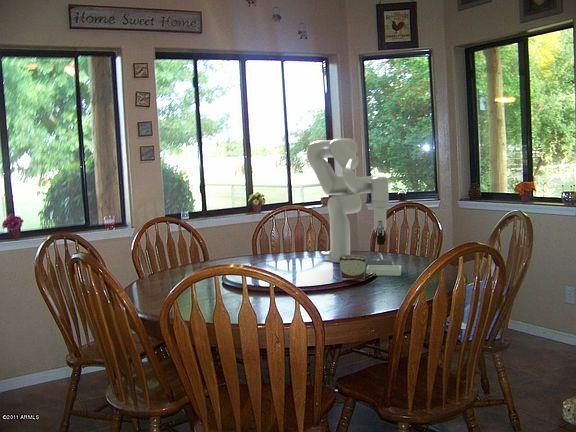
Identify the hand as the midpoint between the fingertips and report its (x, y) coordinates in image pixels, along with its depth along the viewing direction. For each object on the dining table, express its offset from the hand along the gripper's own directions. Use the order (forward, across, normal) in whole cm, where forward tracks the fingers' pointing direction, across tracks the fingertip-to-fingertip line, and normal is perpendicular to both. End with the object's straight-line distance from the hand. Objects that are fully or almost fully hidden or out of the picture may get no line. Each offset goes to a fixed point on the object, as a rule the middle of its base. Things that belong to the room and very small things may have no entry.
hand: (381, 243), depth 287 cm
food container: (+12, +23, -10) cm, 28 cm away
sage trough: (+12, +9, +1) cm, 15 cm away
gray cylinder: (+12, -1, -1) cm, 12 cm away
